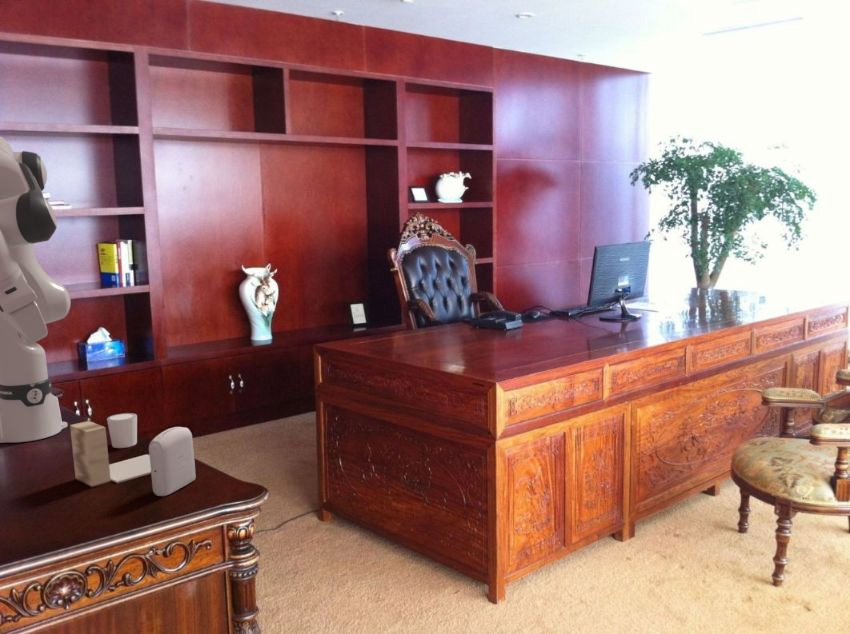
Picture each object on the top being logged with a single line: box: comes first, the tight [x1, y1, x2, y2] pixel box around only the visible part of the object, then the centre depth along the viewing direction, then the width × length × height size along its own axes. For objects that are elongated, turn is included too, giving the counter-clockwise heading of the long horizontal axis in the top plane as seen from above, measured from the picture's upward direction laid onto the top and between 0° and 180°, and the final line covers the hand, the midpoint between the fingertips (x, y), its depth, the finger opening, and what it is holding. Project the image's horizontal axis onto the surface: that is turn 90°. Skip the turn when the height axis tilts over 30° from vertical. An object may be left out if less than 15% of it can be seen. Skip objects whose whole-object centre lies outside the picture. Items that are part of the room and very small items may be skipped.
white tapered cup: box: [106, 412, 138, 449], centre depth 196 cm, size 7×7×7 cm
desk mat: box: [109, 454, 151, 484], centre depth 178 cm, size 12×13×1 cm
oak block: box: [69, 420, 112, 488], centre depth 171 cm, size 8×4×12 cm, turn 47°
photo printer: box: [148, 426, 197, 497], centre depth 165 cm, size 10×4×12 cm, turn 158°
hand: (29, 340), depth 165 cm, fingers closed
